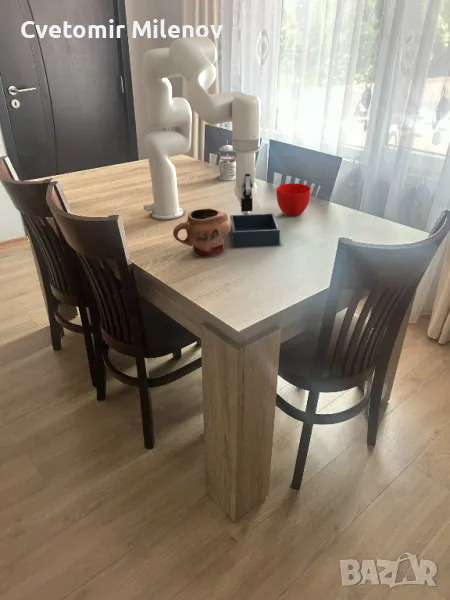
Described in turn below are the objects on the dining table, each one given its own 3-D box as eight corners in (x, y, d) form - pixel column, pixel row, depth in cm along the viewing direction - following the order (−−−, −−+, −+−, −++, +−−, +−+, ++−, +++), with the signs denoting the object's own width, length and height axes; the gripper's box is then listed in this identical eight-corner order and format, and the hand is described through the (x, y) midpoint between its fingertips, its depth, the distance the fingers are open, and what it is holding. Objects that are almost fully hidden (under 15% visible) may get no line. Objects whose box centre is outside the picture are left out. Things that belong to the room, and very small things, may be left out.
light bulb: (233, 211, 136) (233, 175, 130) (255, 210, 137) (255, 174, 131) (236, 219, 131) (235, 182, 125) (258, 218, 131) (258, 181, 125)
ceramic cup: (313, 205, 180) (315, 181, 175) (305, 220, 167) (307, 195, 161) (282, 203, 184) (282, 179, 179) (272, 217, 170) (272, 192, 165)
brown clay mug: (186, 268, 137) (182, 226, 130) (168, 254, 146) (164, 214, 138) (240, 252, 146) (239, 211, 138) (220, 239, 155) (219, 201, 147)
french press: (238, 180, 214) (237, 125, 201) (214, 180, 214) (211, 126, 201) (238, 174, 222) (237, 121, 209) (215, 175, 223) (212, 122, 209)
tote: (233, 247, 148) (232, 232, 146) (230, 229, 162) (230, 215, 159) (279, 245, 149) (280, 230, 146) (273, 227, 162) (273, 213, 159)
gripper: (230, 138, 130) (231, 197, 140) (234, 153, 115) (235, 218, 125) (256, 137, 130) (255, 196, 140) (263, 152, 116) (261, 217, 125)
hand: (245, 206), depth 132 cm, fingers closed on light bulb, 6 cm apart
